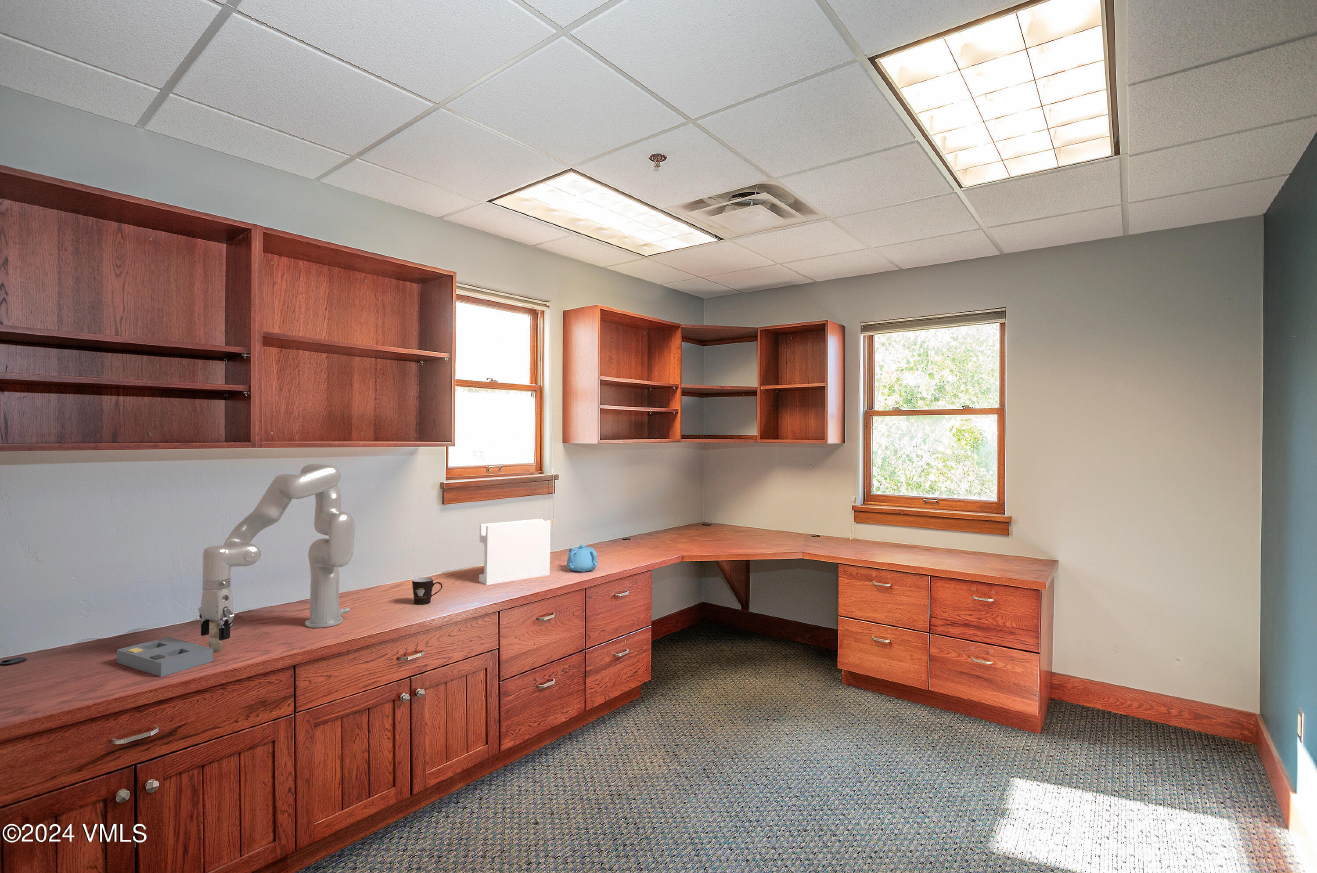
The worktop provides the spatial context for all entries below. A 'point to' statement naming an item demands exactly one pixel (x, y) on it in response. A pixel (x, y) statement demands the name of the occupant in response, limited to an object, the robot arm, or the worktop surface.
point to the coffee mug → (423, 590)
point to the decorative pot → (582, 559)
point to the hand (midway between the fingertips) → (215, 637)
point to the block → (515, 550)
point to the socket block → (164, 656)
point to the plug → (214, 636)
